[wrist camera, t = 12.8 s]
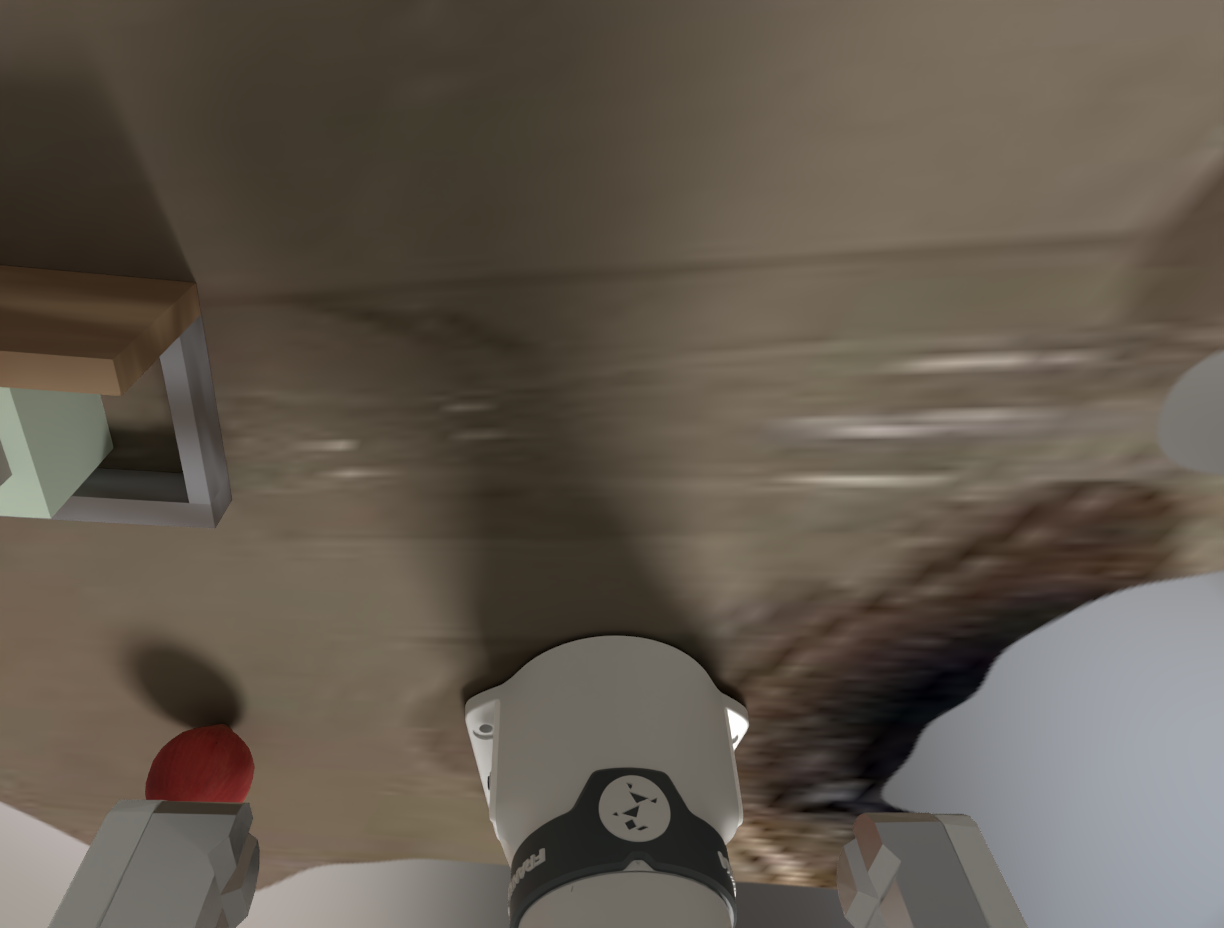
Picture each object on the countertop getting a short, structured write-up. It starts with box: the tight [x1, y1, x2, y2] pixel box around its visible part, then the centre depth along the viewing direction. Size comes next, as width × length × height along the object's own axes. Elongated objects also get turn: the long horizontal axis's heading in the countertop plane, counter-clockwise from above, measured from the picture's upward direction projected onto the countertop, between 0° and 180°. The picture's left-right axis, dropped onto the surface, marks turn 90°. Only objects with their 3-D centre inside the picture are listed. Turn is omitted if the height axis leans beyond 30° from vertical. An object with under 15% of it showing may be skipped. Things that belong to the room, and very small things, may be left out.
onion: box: [145, 724, 255, 803], centre depth 48 cm, size 6×6×8 cm
